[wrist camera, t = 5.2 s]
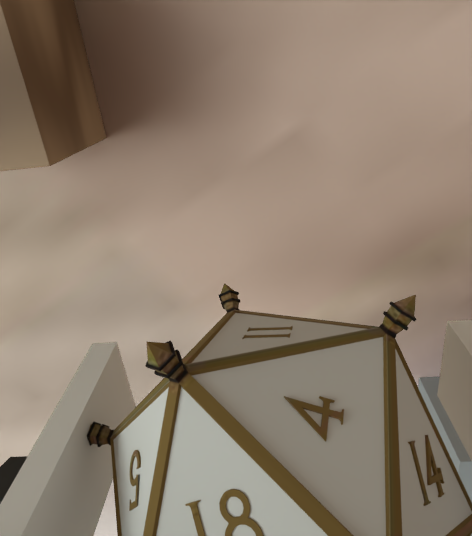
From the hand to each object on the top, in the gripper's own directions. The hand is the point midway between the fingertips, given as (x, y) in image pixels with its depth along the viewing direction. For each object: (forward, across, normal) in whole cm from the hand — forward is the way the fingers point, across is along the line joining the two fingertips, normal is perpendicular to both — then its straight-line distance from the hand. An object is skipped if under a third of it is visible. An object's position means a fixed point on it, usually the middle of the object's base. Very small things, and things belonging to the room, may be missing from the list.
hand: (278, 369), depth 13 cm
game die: (+1, 0, 0) cm, 1 cm away
